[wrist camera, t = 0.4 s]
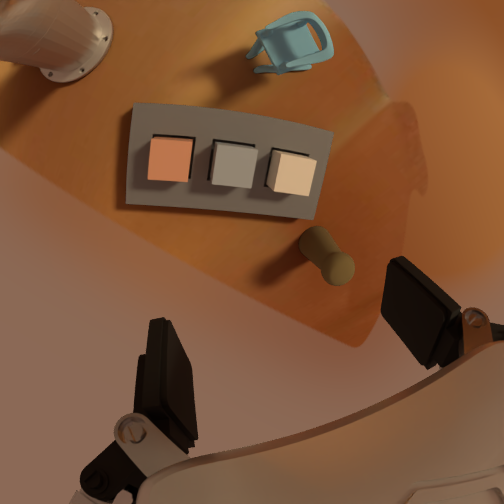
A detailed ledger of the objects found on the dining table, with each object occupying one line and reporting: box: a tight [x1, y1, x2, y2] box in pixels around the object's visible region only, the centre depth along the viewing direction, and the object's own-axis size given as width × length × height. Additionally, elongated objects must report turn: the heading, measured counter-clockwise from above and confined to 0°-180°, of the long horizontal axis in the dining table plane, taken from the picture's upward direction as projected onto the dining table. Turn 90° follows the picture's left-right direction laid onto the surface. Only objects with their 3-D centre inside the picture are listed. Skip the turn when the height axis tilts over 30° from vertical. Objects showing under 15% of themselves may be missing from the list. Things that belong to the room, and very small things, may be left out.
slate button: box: [210, 142, 258, 188], centre depth 35 cm, size 5×5×4 cm
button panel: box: [126, 103, 334, 220], centre depth 37 cm, size 28×14×3 cm, turn 80°
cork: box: [299, 226, 355, 286], centre depth 44 cm, size 6×6×11 cm
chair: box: [246, 11, 334, 75], centre depth 27 cm, size 8×8×12 cm
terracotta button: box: [148, 137, 193, 182], centre depth 33 cm, size 5×5×4 cm
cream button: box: [266, 150, 317, 196], centre depth 37 cm, size 5×5×4 cm
